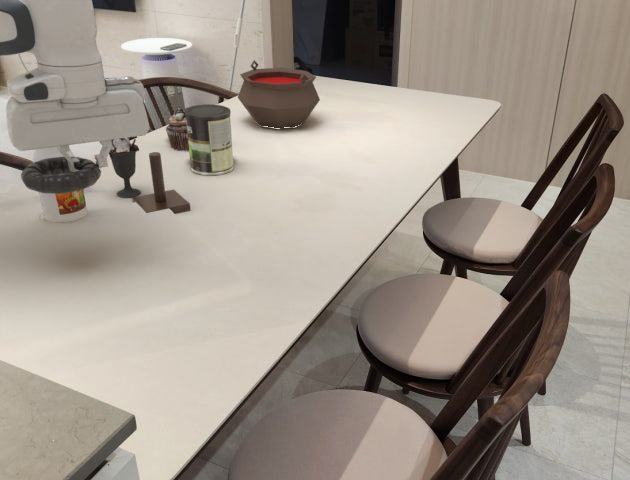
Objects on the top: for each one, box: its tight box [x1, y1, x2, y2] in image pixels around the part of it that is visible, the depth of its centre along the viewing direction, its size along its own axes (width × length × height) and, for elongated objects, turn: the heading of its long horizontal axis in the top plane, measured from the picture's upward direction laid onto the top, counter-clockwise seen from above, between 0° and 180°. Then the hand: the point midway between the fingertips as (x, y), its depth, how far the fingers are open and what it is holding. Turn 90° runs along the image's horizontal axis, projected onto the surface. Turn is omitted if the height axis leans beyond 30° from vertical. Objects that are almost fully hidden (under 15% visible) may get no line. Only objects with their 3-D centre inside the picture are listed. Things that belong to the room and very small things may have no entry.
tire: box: [20, 156, 102, 194], centre depth 100 cm, size 11×11×3 cm
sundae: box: [108, 137, 142, 199], centre depth 134 cm, size 7×7×15 cm
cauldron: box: [237, 59, 321, 128], centre depth 185 cm, size 24×24×16 cm
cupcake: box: [165, 106, 189, 151], centre depth 164 cm, size 10×10×10 cm
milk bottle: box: [32, 147, 88, 223], centre depth 120 cm, size 8×8×20 cm
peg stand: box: [131, 151, 191, 214], centre depth 129 cm, size 9×9×12 cm
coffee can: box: [184, 103, 235, 176], centre depth 150 cm, size 10×10×14 cm
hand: (88, 168), depth 102 cm, fingers closed on tire, 3 cm apart
